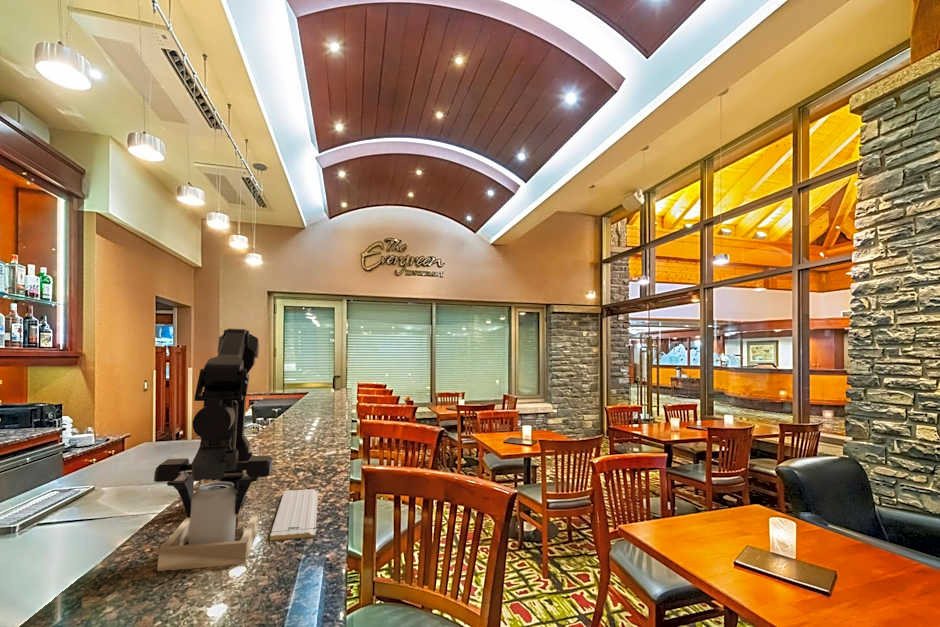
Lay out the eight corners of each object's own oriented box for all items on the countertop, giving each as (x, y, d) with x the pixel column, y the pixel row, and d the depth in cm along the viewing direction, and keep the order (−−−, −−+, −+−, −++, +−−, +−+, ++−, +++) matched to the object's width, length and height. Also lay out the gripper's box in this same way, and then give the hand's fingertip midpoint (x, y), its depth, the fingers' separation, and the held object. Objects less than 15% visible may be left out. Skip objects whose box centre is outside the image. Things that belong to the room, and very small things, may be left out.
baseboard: (324, 494, 122) (283, 496, 119) (324, 483, 122) (284, 485, 119) (322, 539, 93) (269, 543, 90) (323, 524, 93) (270, 528, 90)
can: (242, 544, 88) (246, 480, 89) (218, 562, 81) (223, 492, 82) (204, 542, 88) (209, 478, 89) (177, 560, 81) (182, 490, 82)
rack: (184, 536, 91) (185, 518, 91) (258, 530, 95) (259, 513, 95) (157, 571, 77) (158, 550, 77) (245, 563, 80) (246, 542, 81)
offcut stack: (199, 535, 92) (201, 514, 92) (243, 531, 94) (244, 511, 94) (194, 543, 88) (195, 521, 88) (240, 539, 90) (241, 518, 91)
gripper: (145, 439, 76) (137, 537, 75) (267, 436, 81) (262, 527, 80) (168, 428, 87) (161, 513, 85) (275, 426, 92) (270, 506, 91)
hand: (213, 515), depth 85 cm, fingers closed on can, 7 cm apart
